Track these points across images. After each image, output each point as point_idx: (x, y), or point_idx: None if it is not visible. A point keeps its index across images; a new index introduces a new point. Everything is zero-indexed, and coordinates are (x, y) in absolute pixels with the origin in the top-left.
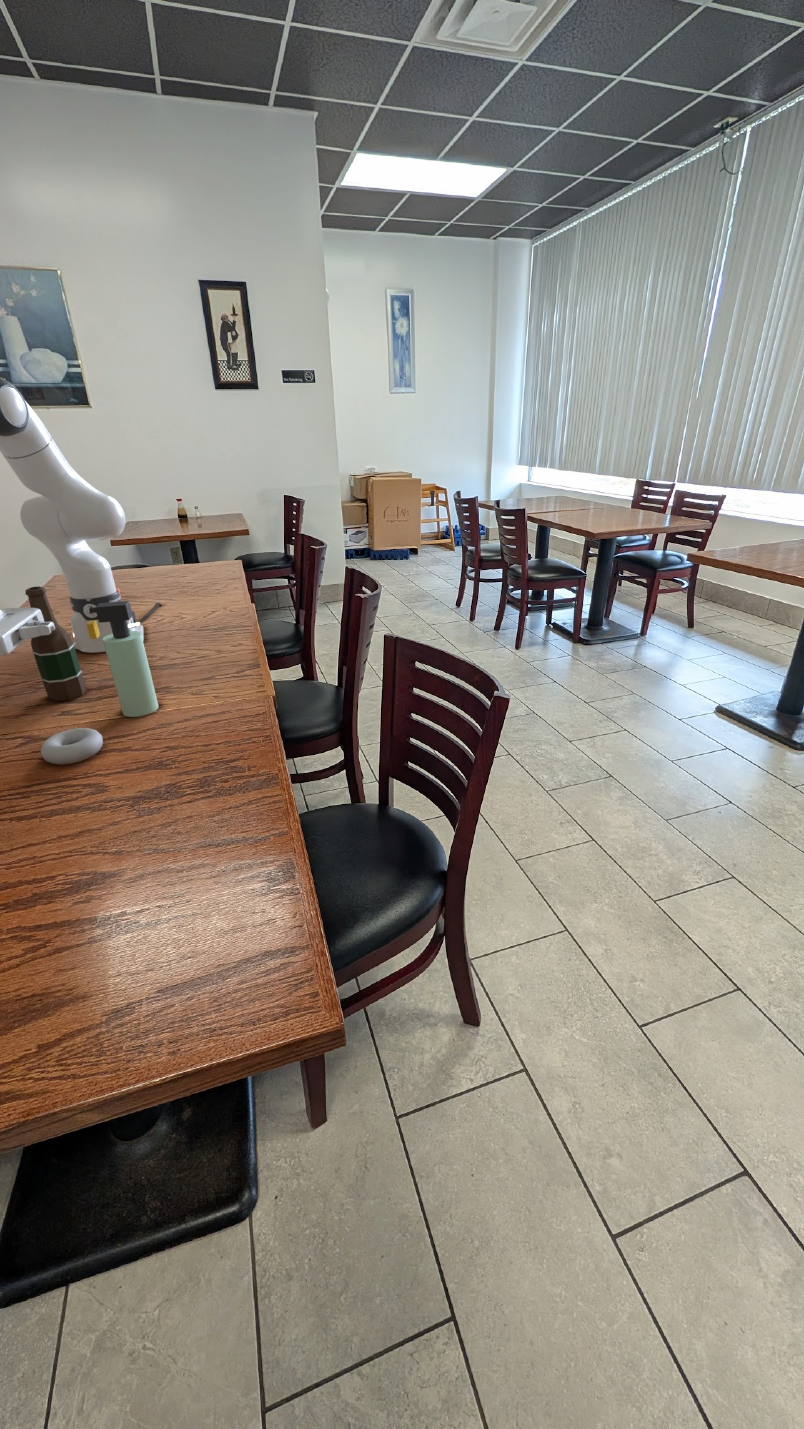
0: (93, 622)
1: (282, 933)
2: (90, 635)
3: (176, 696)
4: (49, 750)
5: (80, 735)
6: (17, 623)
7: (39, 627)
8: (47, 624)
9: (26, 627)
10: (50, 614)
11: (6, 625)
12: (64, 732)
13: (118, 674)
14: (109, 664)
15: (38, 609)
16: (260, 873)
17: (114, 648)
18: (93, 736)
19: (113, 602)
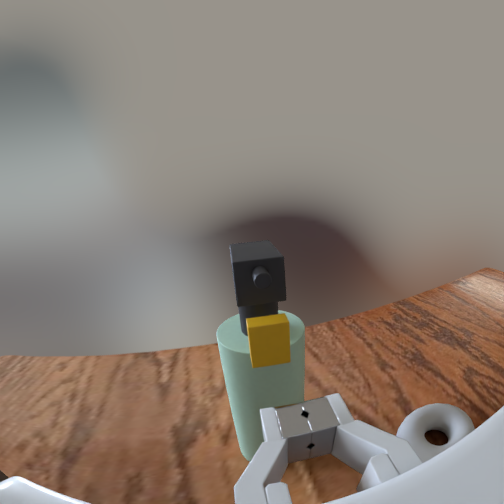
0: (269, 316)
1: (478, 276)
2: (289, 351)
3: (222, 412)
4: (473, 428)
5: (423, 431)
6: (403, 483)
7: (352, 418)
8: (317, 400)
9: (395, 445)
10: (2, 472)
11: (464, 499)
12: (431, 448)
13: (303, 393)
14: (288, 396)
15: (22, 479)
16: (464, 286)
17: (304, 341)
18: (425, 407)
19: (236, 251)
